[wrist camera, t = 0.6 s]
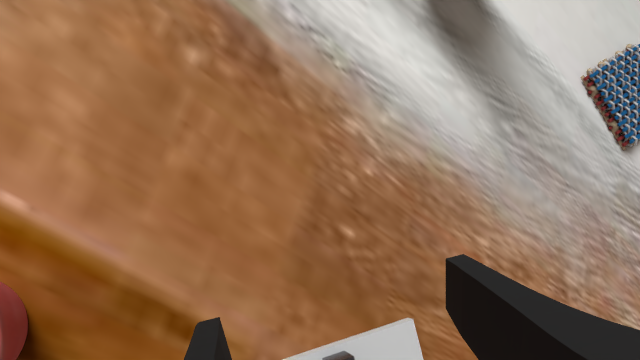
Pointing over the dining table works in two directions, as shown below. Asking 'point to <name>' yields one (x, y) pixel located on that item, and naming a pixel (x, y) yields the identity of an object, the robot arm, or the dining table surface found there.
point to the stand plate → (374, 344)
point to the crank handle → (340, 356)
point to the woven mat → (618, 93)
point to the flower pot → (11, 324)
